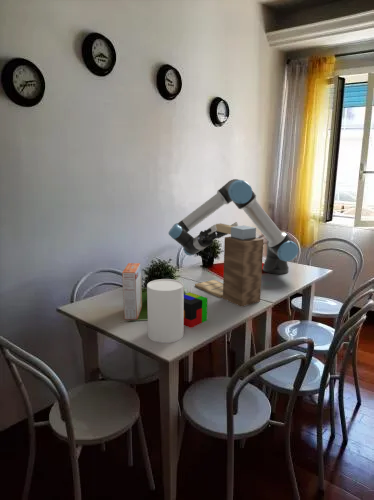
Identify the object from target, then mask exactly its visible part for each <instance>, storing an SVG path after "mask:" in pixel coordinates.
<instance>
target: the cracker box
mask: <svg viewBox="0 0 374 500" xmlns="http://www.w3.org/2000/svg"><path fill="white" fill-rule="evenodd" d="M121 276H122V279H121V280H122V295H123V297H122V299H123V315H124V316H123V319H124V320H126V321H127V320H128V321H129V320H130V321H131V320H132V321H133V320H134V321H135V320H138V318H139V317H140V314H141V311H142V308H143V293H142V267H141V262H140V263H139V262H138V263H137V262H135V263H134V262H128V263H127V265H126V266H125V268H124V269H123V271H122V272H121Z"/></svg>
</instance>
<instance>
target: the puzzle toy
mask: <svg viewBox="0 0 374 500" xmlns="http://www.w3.org/2000/svg"><path fill="white" fill-rule="evenodd" d="M207 321H208V297H205V296H202V295H199V294H196V293H194V292H186V293H184V326H185V327H187V328H189V329H193V328H194V327H197V326H198V325H201V324H203V323H205V322H207Z"/></svg>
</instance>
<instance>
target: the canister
mask: <svg viewBox="0 0 374 500" xmlns="http://www.w3.org/2000/svg"><path fill="white" fill-rule="evenodd" d="M184 287H185V284H184V283H183V281H180V280H178V279H173V278H172V279H171V278H161V279H154V280H151V281H149V282H148V283H147V284H146V293H147V295H146V296H147V297H146V300H147V336H148V339H150V340H152V341H153V342H156V343H163V344H164V343H166V344H167V343H174V342H178V341H180V340H181V339H182V338H183V337H184V329H185V328H184V294H185V293H184V291H185V288H184Z"/></svg>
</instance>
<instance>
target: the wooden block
mask: <svg viewBox="0 0 374 500" xmlns="http://www.w3.org/2000/svg"><path fill="white" fill-rule="evenodd" d="M223 247H224V249H223V250H224V251H223V281H222V283H223V298H222V299H223V300H226V301H227V300H228V302H229V303H233V304H234V305H237V306H238V307H241V308H242V307H245V306H250V305H253V304H256V303H259V302H260V303H261V293H262V291H261V290H262V274H263V255H264V253H263V252H264V239H263V238H259V237H256V239H250V240H244V241H242V240H238V239H234V238H231V236H227V237H225V236H224V245H223Z"/></svg>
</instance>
